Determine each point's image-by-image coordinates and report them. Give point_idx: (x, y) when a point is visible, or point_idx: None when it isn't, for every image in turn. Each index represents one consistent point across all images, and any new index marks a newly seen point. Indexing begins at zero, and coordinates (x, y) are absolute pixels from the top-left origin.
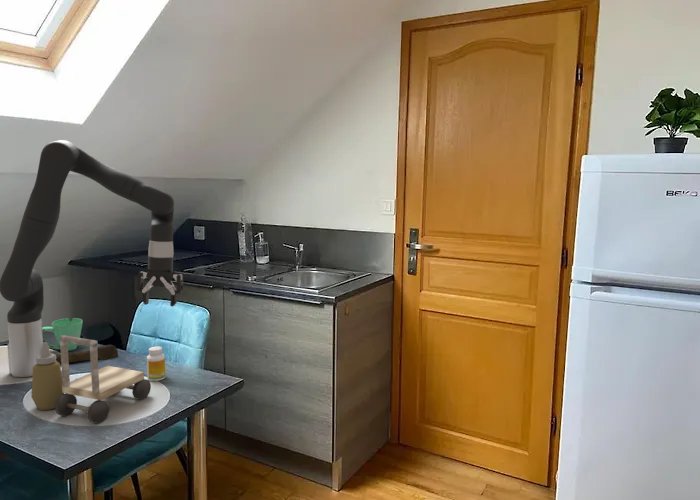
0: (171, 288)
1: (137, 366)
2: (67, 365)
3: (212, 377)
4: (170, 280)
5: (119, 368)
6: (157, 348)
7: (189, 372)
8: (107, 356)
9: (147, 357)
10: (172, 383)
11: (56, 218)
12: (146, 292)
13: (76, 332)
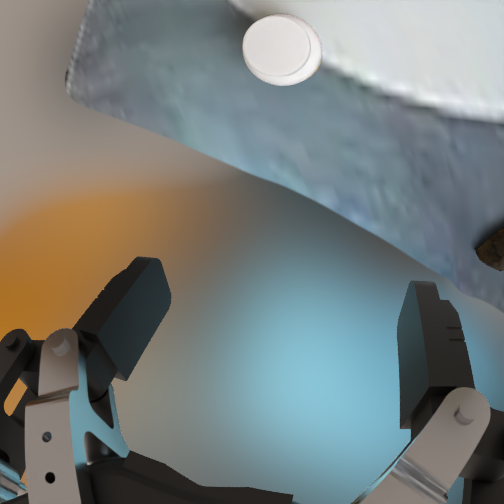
0: (42, 393)
1: (400, 160)
2: None
3: (126, 95)
4: (27, 493)
5: None
6: (264, 45)
7: (204, 118)
8: (499, 234)
9: (309, 26)
10: (218, 22)
11: None
12: (427, 407)
13: None
